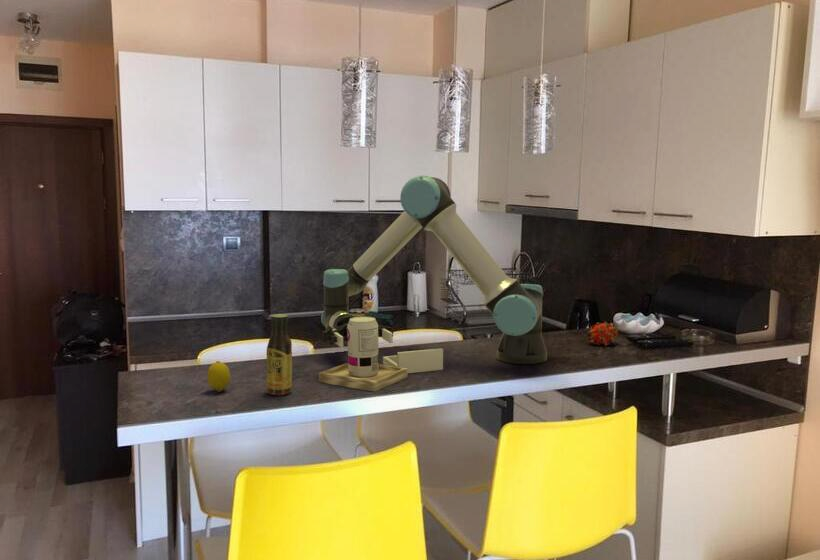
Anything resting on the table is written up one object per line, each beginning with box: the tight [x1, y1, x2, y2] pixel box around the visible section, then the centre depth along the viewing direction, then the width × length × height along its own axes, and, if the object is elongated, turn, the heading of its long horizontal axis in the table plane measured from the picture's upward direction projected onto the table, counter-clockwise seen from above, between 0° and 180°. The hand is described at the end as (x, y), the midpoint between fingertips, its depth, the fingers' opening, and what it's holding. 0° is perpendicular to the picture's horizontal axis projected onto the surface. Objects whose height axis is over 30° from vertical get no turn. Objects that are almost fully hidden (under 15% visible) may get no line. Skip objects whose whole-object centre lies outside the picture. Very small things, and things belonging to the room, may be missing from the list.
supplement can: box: [347, 316, 380, 377], centre depth 177 cm, size 8×8×15 cm
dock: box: [382, 348, 444, 374], centre depth 192 cm, size 14×14×6 cm
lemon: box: [206, 360, 231, 393], centre depth 167 cm, size 6×6×8 cm
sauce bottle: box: [266, 313, 293, 397], centre depth 165 cm, size 6×6×20 cm
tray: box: [318, 362, 409, 393], centre depth 178 cm, size 18×16×2 cm
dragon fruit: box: [586, 320, 619, 347], centre depth 221 cm, size 8×8×12 cm
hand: (366, 340), depth 174 cm, fingers open, 13 cm apart
